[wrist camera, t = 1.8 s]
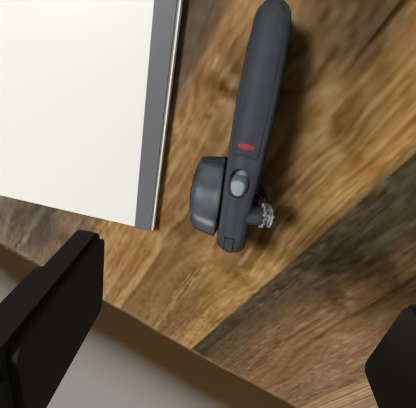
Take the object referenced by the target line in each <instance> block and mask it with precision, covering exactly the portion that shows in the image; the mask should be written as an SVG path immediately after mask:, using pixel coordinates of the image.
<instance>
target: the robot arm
mask: <svg viewBox="0 0 416 408" xmlns="http://www.w3.org/2000/svg"><path fill="white" fill-rule="evenodd" d="M103 268H104V240H103V239H100V238H99V234H98V233H94V232H89V231H85V230H78V231H76V232H75V233H74V234H73V235H72V237H71V238H70V239H69V240H68V241H67V242H66V243H65V244H64V245H63V246H62V247H61V248H60V249H59V250H58V251H57V252H56V253H55V255H54V256H53V257H52V258H51V259H50V260H49V261H48V262H47V263H46V264H45V265H44V266H43V267H41V266H39V267H37V268H35V269H34V270H32V271H31V272H30V273H29V274H28V275H27V276H26V277H25V278H24V279H23V280H22V281H21V283H19V285H17V287H16V288H15V289H14V290H13V291H12V292H11V293H10V294H9V295H8V296H7V297H6V298H5V299H4V300H3V301H2V302H1V303H0V408H46V407H47V406H48V404H49V402H50V400H51V398H52V396H53V395H54V393H55V391H56V389H57V388H58V386H59V384H60V382H61V380H62V378H63V377H64V375H65V373H66V371H67V369H68V368H69V366H70V364H71V362H72V361H73V359H74V357H75V355H76V353H77V351H78V350H79V348H80V346H81V345H82V343H83V341H84V339H85V337H86V336H87V334H88V332H89V330H90V328H91V327H92V324H93V323H94V321H95V320H96V318H97V316H98V314H99V312H100V309H101V306H102V297H103ZM365 373H366V376H367V379H368V381H369V384H370V386H371V389H372V392H373V394H374V397H375V399H376V402H377V405H378V407H379V408H416V305H411V306H409V307H408V308H405V309H403V310H402V312H401V313H400V315H399V316H398V317H397V319H396V320H395V322H394V323H393V325H392V326H391V327H390V329H389V330H388V332H387V333H386V334H385V336H384V337H383V339H382V340H381V342H380V343H379V344H378V346H377V347H376V349H375V350H374V352H373V353H372V354H371V356H370V357H369V359H368V360H367V362H366V364H365Z"/></svg>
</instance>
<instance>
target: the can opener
mask: <svg viewBox="0 0 416 408" xmlns="http://www.w3.org/2000/svg"><path fill="white" fill-rule="evenodd" d="M290 32H291V11H290V8H289V5H288V4H287V3H286V2H285V1H284V0H266V1H265V2H264V3H263V4H262V5H261V6H260V7H259V9H258V10H257V13H256V15H255V18H254V22H253V26H252V30H251V34H250V39H249V42H248V47H247V52H246V56H245V60H244V65H243V70H242V75H241V80H240V85H239V89H238V95H237V101H236V107H235V112H234V119H233V125H232V132H231V138H230V145H229V151H228V158H227V157H202V158H201V160H200V162H199V164H198V166H197V169H196V171H195V174H194V177H193V182H192V186H191V192H190V206H189V207H190V219H191V223H192V226H193V227H194V228H196V229H198V230H200V231H202V232H205V233H207V234H209V235H211V236H213V235H214V234H215V233H216V231H217V229H218V226H219V229H218V235H217V243H218V245H219V246H220V247H221V248H222V249H223V250H225V251H226V252H229V253H234V252H238V251H241V250H243V248H244V246H245V243H246V238H247V235H248V231H249V227H250V225H258V227H259V228H260V227H262V228H263V226H264V227H267V228H269V227H270V226H271V225H272V222H273V218H275V217H274V216H273V209H272V207H271V205H270V204H268V196H267V193H266V190H265V188H264V185H263V183H262V181H261V175H262V170H263V166H264V161H265V157H266V153H267V148H268V144H269V140H270V136H271V132H272V128H273V124H274V120H275V115H276V111H277V107H278V102H279V97H280V93H281V88H282V82H283V77H284V71H285V66H286V60H287V54H288V47H289V40H290Z"/></svg>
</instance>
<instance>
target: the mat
mask: <svg viewBox="0 0 416 408" xmlns="http://www.w3.org/2000/svg"><path fill="white" fill-rule="evenodd" d="M182 5H183V0H0V195H2V196H6V197H11V198H15V199H19V200H24V201H28V202H32V203H36V204H41V205H45V206H49V207H54V208H58V209H62V210H67V211H71V212H75V213H80V214H84V215H88V216H93V217H97V218H101V219H106V220H110V221H114V222H118V223H123V224H127V225H131V226H135V228H139V229H143V230H148V231H150V230H153V229H154V228H155V221H156V213H157V205H158V197H159V189H160V181H161V173H162V165H163V157H164V149H165V141H166V133H167V125H168V117H169V109H170V101H171V93H172V85H173V77H174V69H175V61H176V53H177V45H178V37H179V29H180V21H181V13H182Z"/></svg>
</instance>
